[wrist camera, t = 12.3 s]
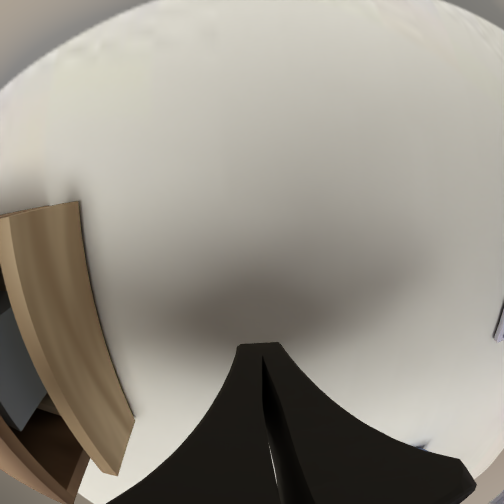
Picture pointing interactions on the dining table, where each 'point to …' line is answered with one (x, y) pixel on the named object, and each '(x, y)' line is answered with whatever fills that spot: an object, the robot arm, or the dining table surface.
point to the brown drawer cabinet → (43, 452)
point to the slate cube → (16, 372)
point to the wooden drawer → (64, 328)
